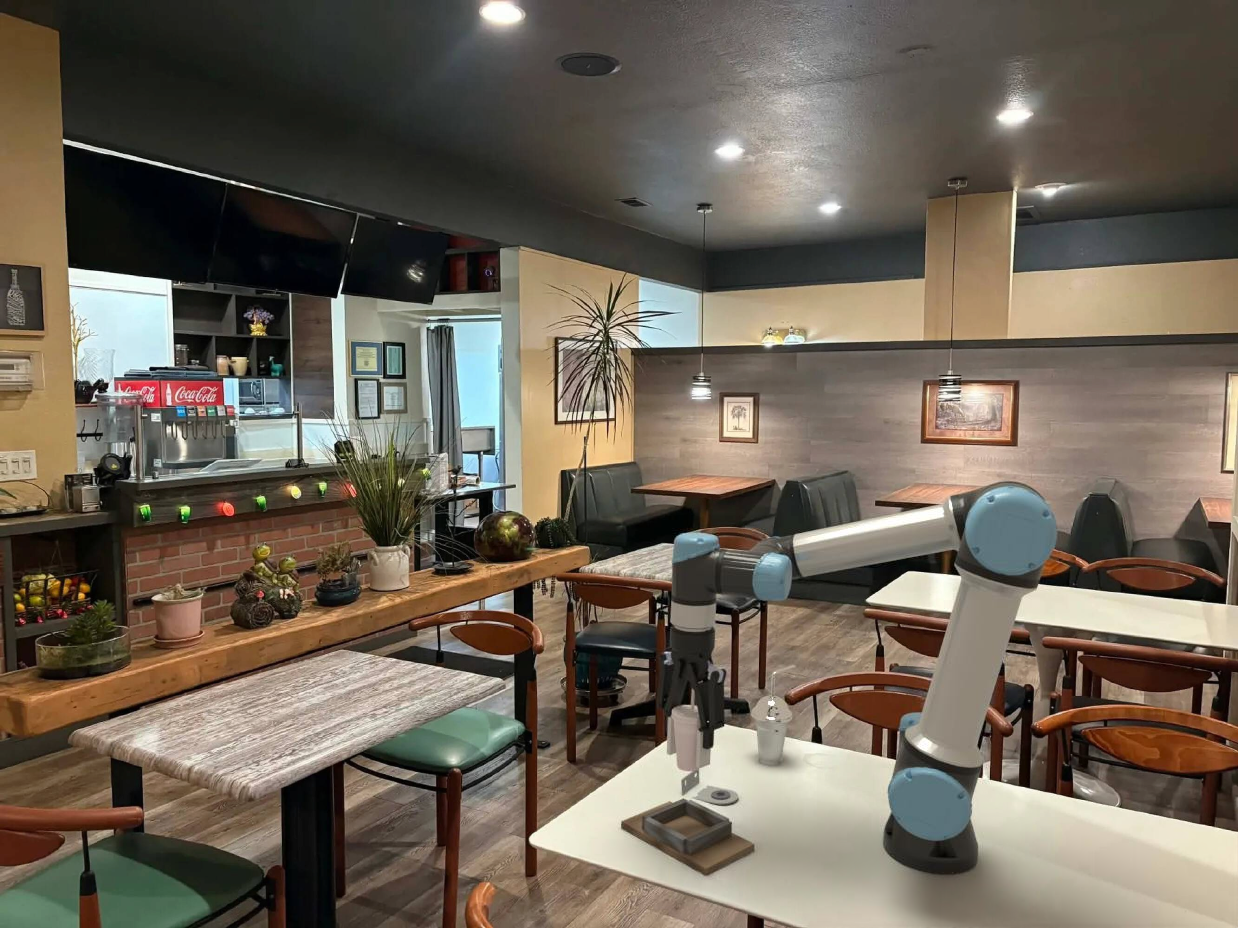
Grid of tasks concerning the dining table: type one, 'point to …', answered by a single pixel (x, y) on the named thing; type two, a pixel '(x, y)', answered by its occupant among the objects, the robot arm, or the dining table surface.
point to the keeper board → (690, 835)
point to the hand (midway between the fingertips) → (688, 758)
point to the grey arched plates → (708, 791)
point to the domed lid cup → (771, 724)
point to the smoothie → (686, 734)
